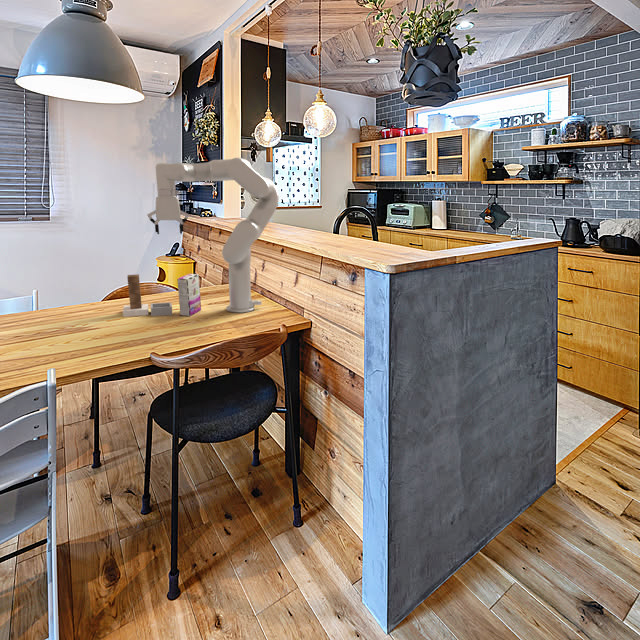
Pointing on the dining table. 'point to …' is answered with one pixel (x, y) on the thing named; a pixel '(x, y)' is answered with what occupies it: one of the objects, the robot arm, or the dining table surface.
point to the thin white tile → (135, 311)
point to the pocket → (161, 309)
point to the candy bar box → (189, 294)
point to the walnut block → (134, 291)
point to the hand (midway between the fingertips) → (169, 233)
